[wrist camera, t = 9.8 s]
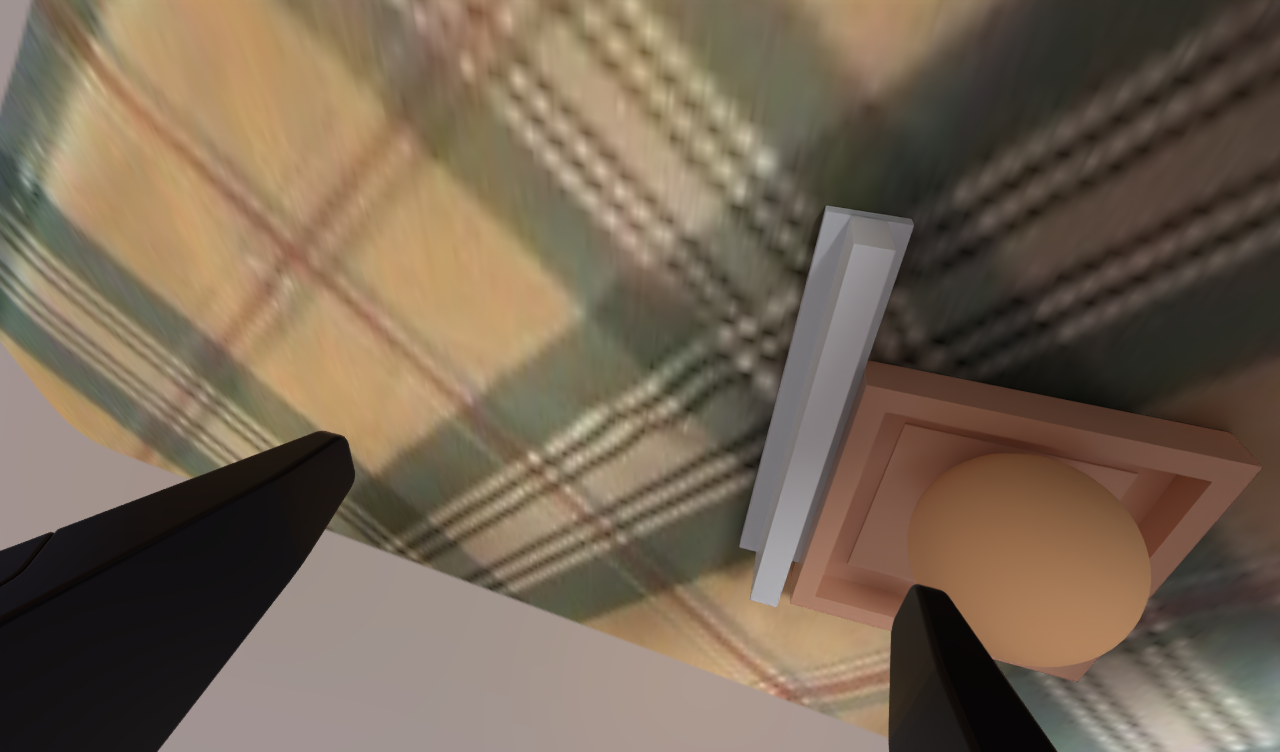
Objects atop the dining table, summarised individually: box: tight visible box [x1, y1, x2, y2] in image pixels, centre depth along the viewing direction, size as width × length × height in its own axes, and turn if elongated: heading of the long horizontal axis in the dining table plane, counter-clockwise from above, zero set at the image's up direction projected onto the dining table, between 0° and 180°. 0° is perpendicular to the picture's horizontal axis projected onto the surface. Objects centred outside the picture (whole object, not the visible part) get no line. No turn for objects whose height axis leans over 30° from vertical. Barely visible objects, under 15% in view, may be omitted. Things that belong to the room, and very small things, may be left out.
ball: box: [908, 453, 1151, 667], centre depth 18 cm, size 6×6×6 cm
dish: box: [790, 360, 1263, 682], centre depth 21 cm, size 11×11×2 cm
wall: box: [739, 205, 914, 607], centre depth 20 cm, size 2×14×3 cm, turn 175°
